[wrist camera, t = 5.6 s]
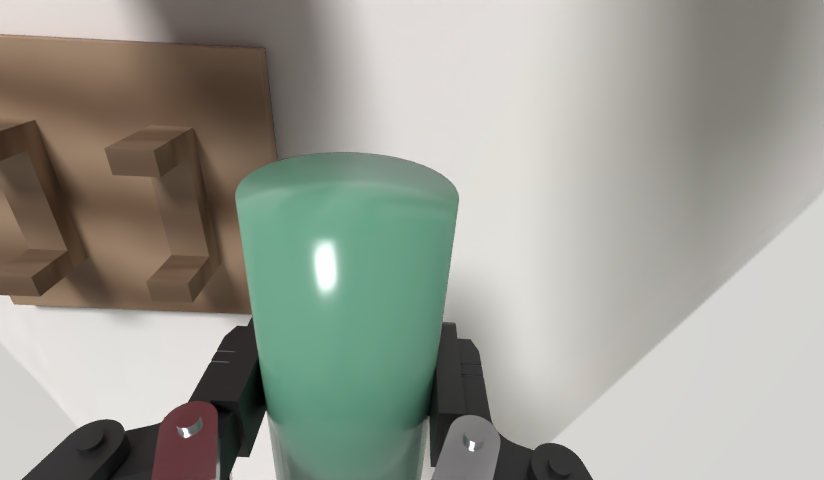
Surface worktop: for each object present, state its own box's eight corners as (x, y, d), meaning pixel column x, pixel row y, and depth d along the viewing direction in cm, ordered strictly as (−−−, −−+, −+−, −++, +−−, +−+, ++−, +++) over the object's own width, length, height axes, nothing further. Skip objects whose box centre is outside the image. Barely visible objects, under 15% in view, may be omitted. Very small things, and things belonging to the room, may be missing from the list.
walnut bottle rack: (-104, 28, 24) (-236, 37, 19) (264, 47, 24) (227, 61, 19) (26, 294, 32) (-41, 346, 28) (293, 305, 33) (272, 358, 28)
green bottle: (269, 147, 12) (195, 235, 8) (448, 157, 12) (473, 249, 8) (303, 496, 20) (277, 631, 16) (408, 498, 21) (410, 632, 16)
